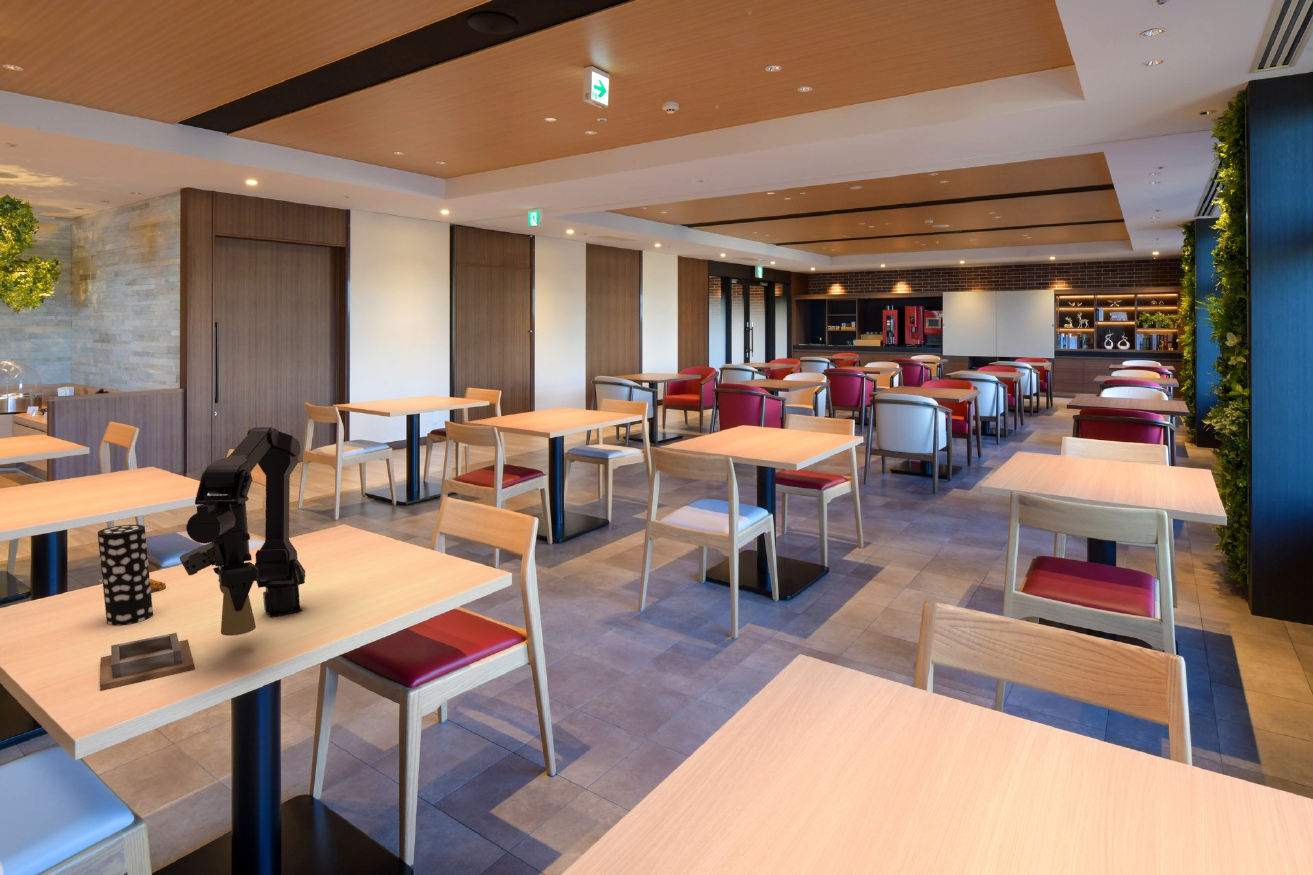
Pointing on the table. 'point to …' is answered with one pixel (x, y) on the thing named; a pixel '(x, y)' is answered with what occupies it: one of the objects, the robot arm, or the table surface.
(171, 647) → the shaker holder
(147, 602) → the white-spotted black cylinder
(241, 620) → the cork
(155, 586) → the ornament
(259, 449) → the robot arm
